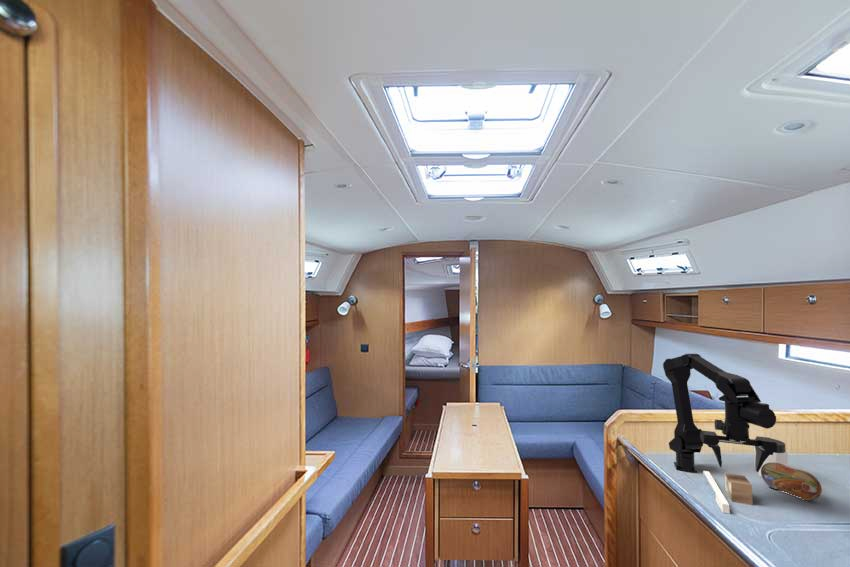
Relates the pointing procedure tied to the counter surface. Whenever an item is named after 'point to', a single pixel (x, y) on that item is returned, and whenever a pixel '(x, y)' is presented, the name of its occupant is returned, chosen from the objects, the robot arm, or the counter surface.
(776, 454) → the jar
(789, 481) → the tin
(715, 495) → the rail
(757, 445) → the robot arm
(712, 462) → the counter surface
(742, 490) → the tea box
